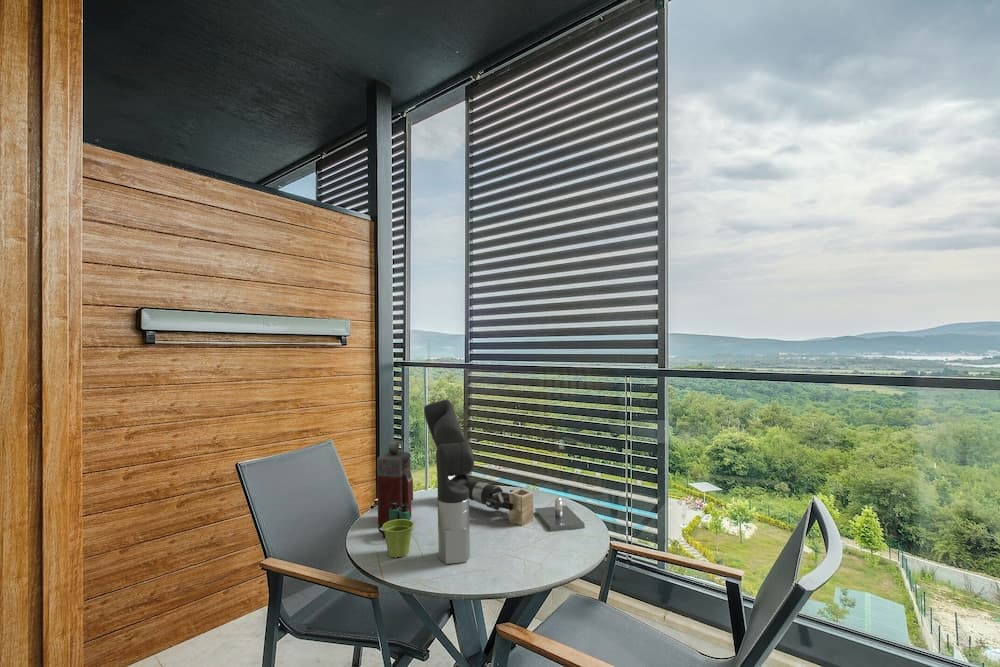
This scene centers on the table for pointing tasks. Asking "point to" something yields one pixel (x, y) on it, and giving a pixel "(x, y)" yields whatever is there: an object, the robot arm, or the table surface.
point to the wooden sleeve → (521, 507)
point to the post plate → (559, 517)
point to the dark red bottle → (393, 481)
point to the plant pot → (398, 536)
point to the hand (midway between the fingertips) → (520, 503)
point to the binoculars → (396, 514)
